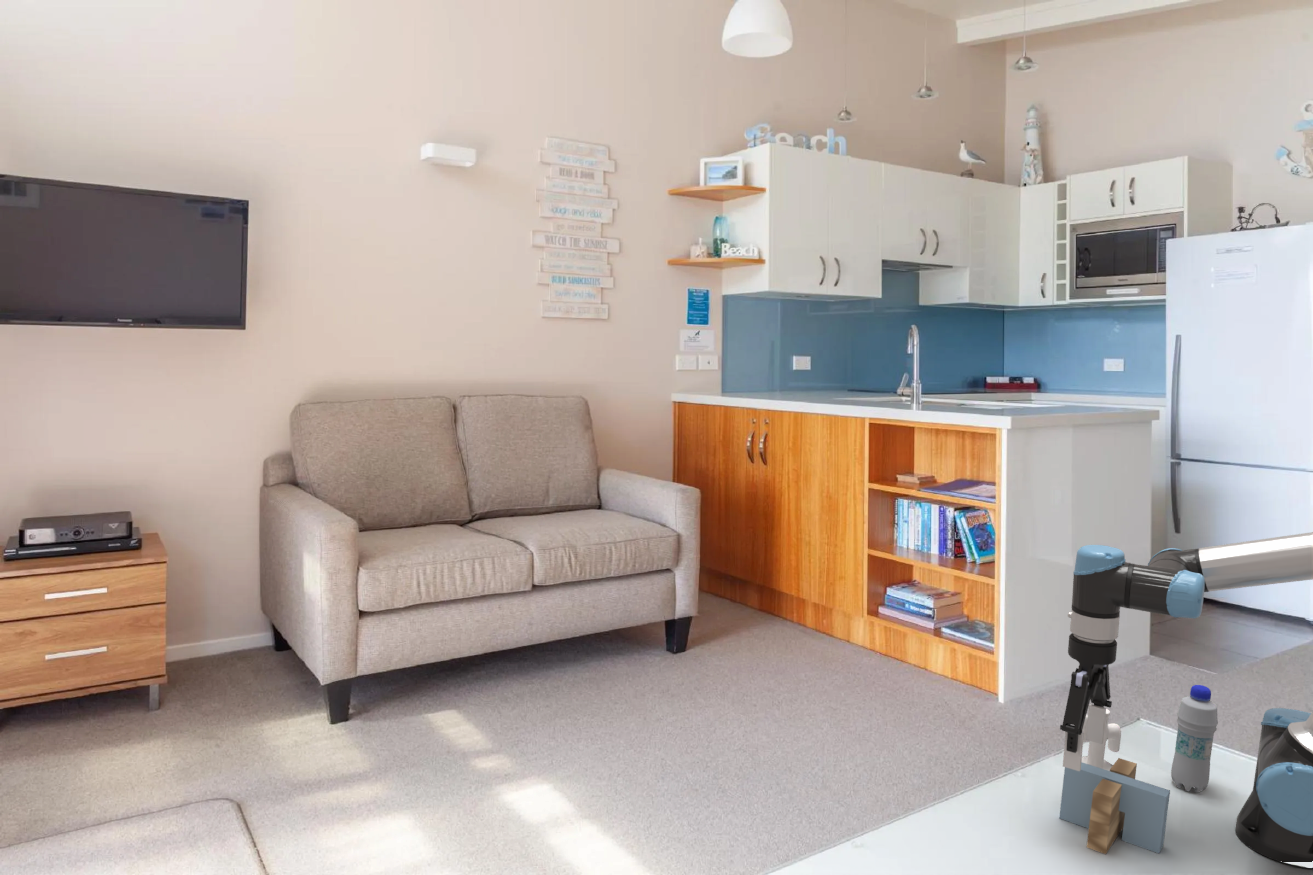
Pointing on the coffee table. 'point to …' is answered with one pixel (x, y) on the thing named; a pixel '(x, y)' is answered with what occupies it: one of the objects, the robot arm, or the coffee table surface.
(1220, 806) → the coffee table surface
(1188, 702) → the bottle
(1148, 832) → the blue bridge block
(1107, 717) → the figurine
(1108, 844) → the wooden block stack
